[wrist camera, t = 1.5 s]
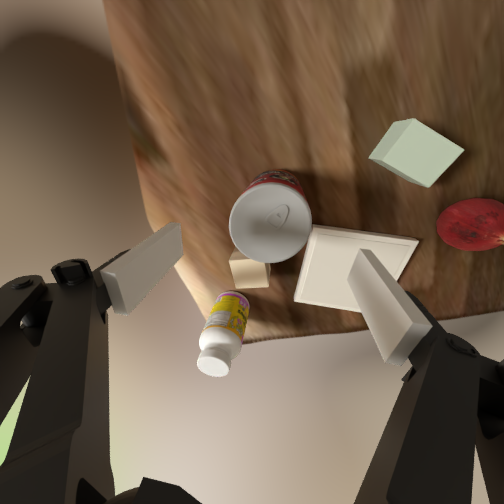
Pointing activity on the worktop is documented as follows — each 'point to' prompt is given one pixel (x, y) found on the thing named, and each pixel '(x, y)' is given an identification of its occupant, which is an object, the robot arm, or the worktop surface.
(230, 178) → the worktop surface
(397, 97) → the worktop surface
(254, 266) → the beech block
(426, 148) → the sage block
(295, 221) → the canned food
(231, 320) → the supplement bottle
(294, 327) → the worktop surface
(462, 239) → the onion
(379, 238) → the tray
